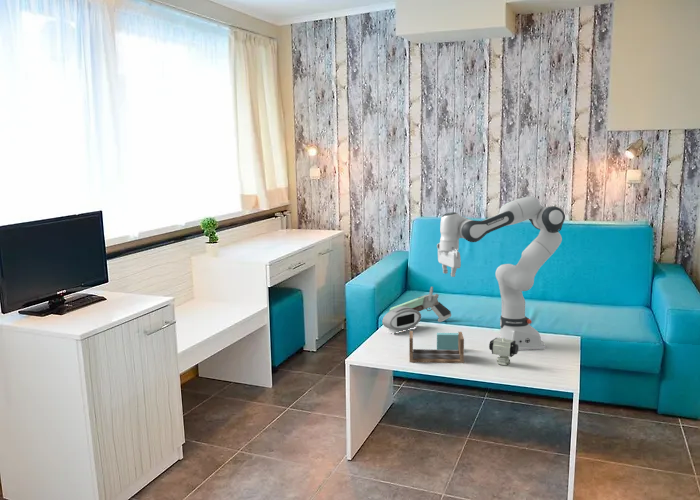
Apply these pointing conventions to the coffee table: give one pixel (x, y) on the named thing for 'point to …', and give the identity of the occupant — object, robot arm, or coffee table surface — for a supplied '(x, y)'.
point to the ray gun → (427, 305)
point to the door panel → (447, 341)
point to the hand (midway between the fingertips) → (449, 274)
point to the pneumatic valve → (503, 349)
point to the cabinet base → (437, 353)
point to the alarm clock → (401, 319)
